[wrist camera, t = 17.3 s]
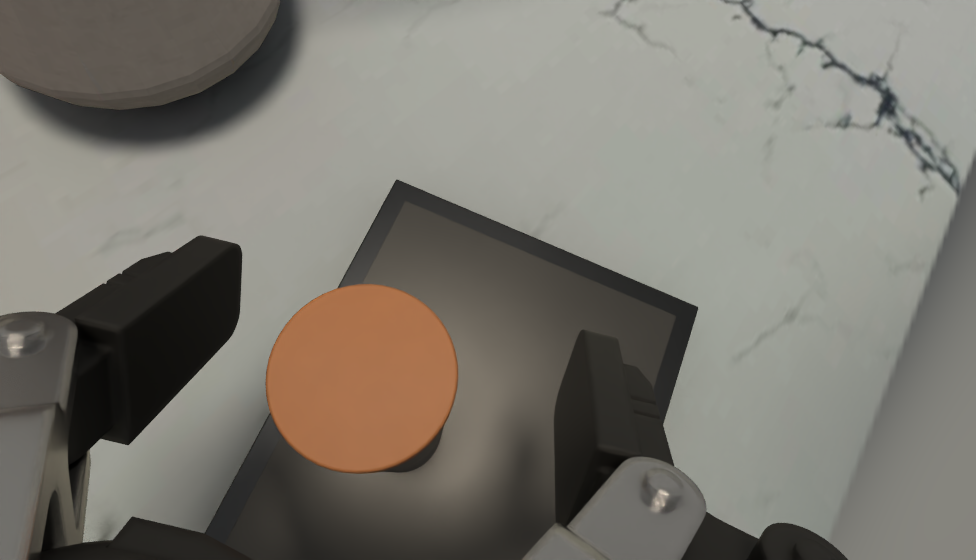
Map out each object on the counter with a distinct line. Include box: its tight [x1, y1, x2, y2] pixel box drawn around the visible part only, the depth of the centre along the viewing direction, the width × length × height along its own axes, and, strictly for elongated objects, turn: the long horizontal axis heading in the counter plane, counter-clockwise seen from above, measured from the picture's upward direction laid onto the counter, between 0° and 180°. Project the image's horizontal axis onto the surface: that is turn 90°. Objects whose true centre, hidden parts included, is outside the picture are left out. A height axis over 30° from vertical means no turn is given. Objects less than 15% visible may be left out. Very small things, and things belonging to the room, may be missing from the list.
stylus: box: [266, 284, 458, 474], centre depth 13 cm, size 3×3×11 cm
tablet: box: [205, 180, 698, 560], centre depth 19 cm, size 12×16×1 cm
